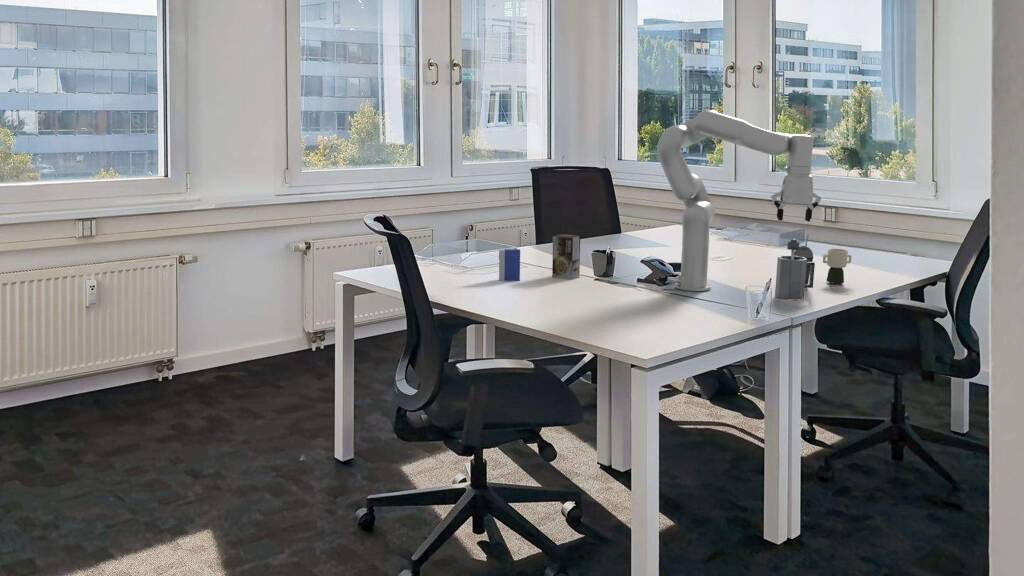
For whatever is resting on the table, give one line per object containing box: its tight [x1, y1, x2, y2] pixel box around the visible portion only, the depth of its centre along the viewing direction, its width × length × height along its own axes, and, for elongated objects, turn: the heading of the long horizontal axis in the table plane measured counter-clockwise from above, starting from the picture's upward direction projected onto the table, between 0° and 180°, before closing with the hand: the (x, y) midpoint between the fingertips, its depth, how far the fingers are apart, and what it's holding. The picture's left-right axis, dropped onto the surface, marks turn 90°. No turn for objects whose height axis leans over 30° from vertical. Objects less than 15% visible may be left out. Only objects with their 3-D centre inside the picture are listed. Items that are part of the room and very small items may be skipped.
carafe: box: [774, 255, 816, 300], centre depth 322 cm, size 13×9×14 cm
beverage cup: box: [794, 234, 814, 284], centre depth 338 cm, size 7×7×20 cm
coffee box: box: [551, 233, 581, 280], centre depth 352 cm, size 9×6×16 cm
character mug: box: [822, 248, 853, 285], centre depth 347 cm, size 11×7×13 cm, turn 93°
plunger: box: [786, 238, 800, 260], centre depth 321 cm, size 6×6×20 cm
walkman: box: [498, 247, 521, 282], centre depth 345 cm, size 8×3×12 cm, turn 94°
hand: (793, 220), depth 318 cm, fingers open, 9 cm apart
